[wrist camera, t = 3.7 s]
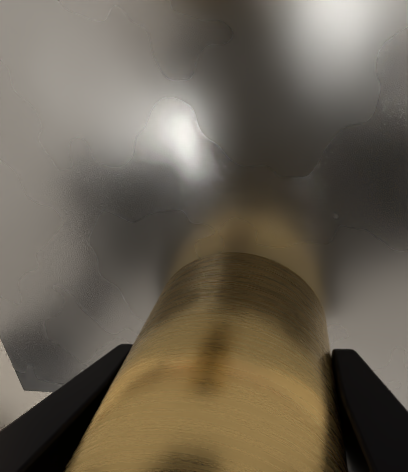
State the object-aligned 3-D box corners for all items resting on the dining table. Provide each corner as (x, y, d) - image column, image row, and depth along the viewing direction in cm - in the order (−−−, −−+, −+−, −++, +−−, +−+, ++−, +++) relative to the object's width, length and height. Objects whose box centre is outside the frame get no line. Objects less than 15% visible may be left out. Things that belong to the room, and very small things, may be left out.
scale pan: (541, 387, 9) (569, 422, 8) (42, 366, 12) (24, 390, 11) (859, -732, 3) (1058, -1006, 3) (-197, -213, 7) (-269, -255, 6)
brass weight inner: (328, 393, 9) (366, 708, 5) (173, 386, 10) (84, 640, 6) (325, 248, 8) (378, 515, 3) (142, 256, 9) (-17, 467, 4)
